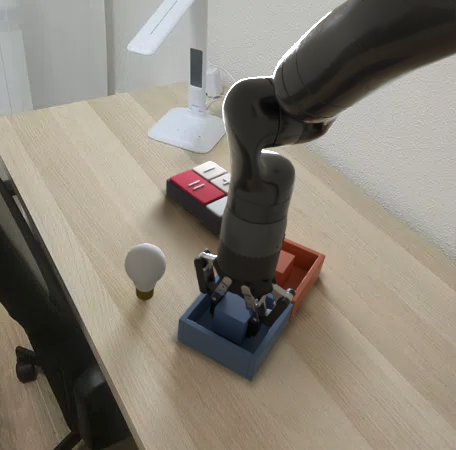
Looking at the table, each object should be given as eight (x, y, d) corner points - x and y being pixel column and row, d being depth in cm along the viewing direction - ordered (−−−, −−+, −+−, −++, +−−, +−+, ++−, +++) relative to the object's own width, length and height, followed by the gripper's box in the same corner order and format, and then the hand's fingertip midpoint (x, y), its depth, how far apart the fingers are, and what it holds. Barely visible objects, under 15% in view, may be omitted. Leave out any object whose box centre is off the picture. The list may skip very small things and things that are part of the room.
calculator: (211, 157, 105) (267, 194, 96) (209, 176, 108) (264, 213, 98) (165, 176, 100) (220, 216, 91) (164, 195, 103) (218, 236, 93)
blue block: (255, 323, 78) (260, 302, 75) (240, 345, 75) (245, 323, 72) (227, 309, 80) (230, 287, 77) (211, 329, 77) (214, 308, 74)
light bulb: (147, 277, 86) (148, 229, 79) (172, 299, 83) (175, 251, 76) (117, 294, 83) (115, 246, 76) (141, 318, 80) (142, 270, 73)
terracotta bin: (319, 275, 87) (325, 255, 84) (289, 322, 80) (295, 301, 77) (253, 246, 92) (257, 225, 89) (219, 287, 85) (222, 267, 82)
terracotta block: (289, 277, 86) (295, 255, 83) (277, 294, 83) (282, 273, 80) (263, 264, 88) (267, 243, 85) (250, 281, 85) (254, 260, 82)
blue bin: (287, 325, 80) (293, 304, 77) (251, 381, 72) (256, 361, 69) (217, 290, 84) (220, 269, 81) (176, 339, 77) (178, 319, 74)
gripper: (184, 227, 67) (176, 318, 78) (294, 277, 61) (268, 368, 72) (215, 196, 71) (203, 286, 82) (319, 240, 65) (292, 331, 77)
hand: (234, 324), depth 77 cm, fingers closed on blue block, 4 cm apart
